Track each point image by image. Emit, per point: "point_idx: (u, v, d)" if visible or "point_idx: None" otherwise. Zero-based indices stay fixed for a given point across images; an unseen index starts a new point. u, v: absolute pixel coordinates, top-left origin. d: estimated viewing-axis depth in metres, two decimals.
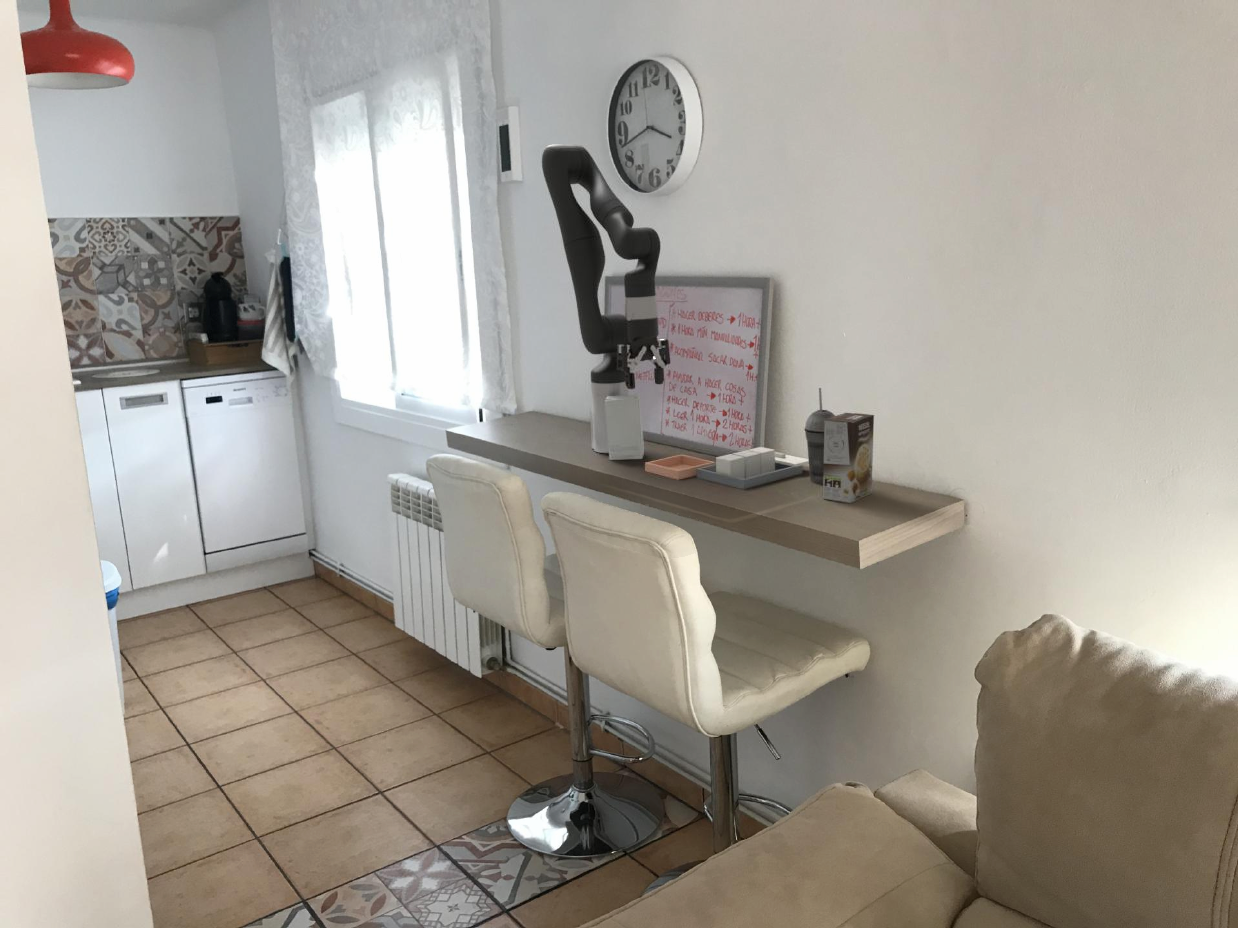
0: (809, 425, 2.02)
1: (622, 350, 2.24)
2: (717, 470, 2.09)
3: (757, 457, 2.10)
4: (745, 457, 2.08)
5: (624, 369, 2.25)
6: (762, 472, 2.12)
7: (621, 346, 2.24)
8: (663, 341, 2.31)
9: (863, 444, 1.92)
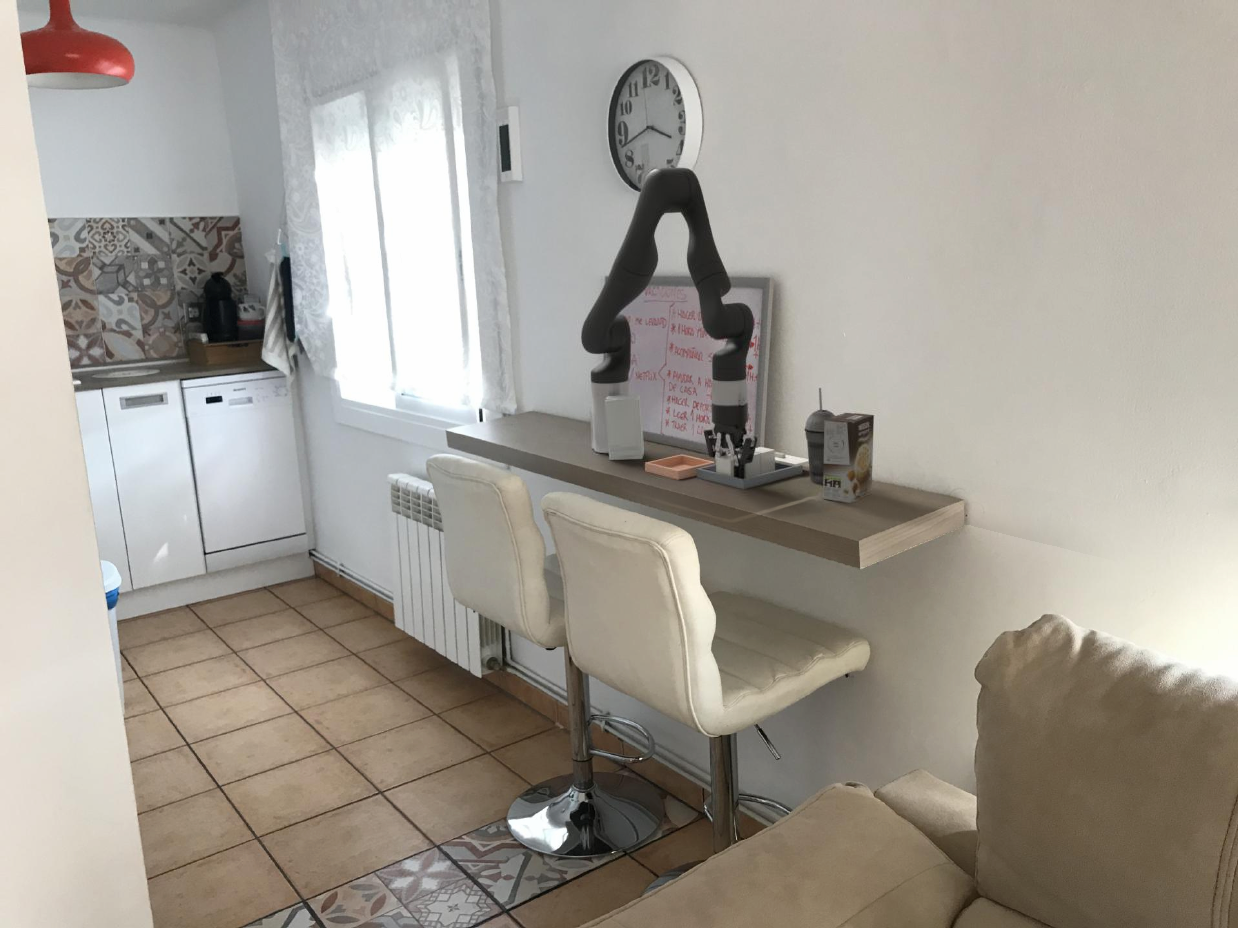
0: (809, 425, 2.02)
1: (755, 443, 2.03)
2: (717, 470, 2.09)
3: (757, 457, 2.10)
4: None
5: None
6: (762, 472, 2.12)
7: (754, 439, 2.02)
8: None
9: (863, 444, 1.92)
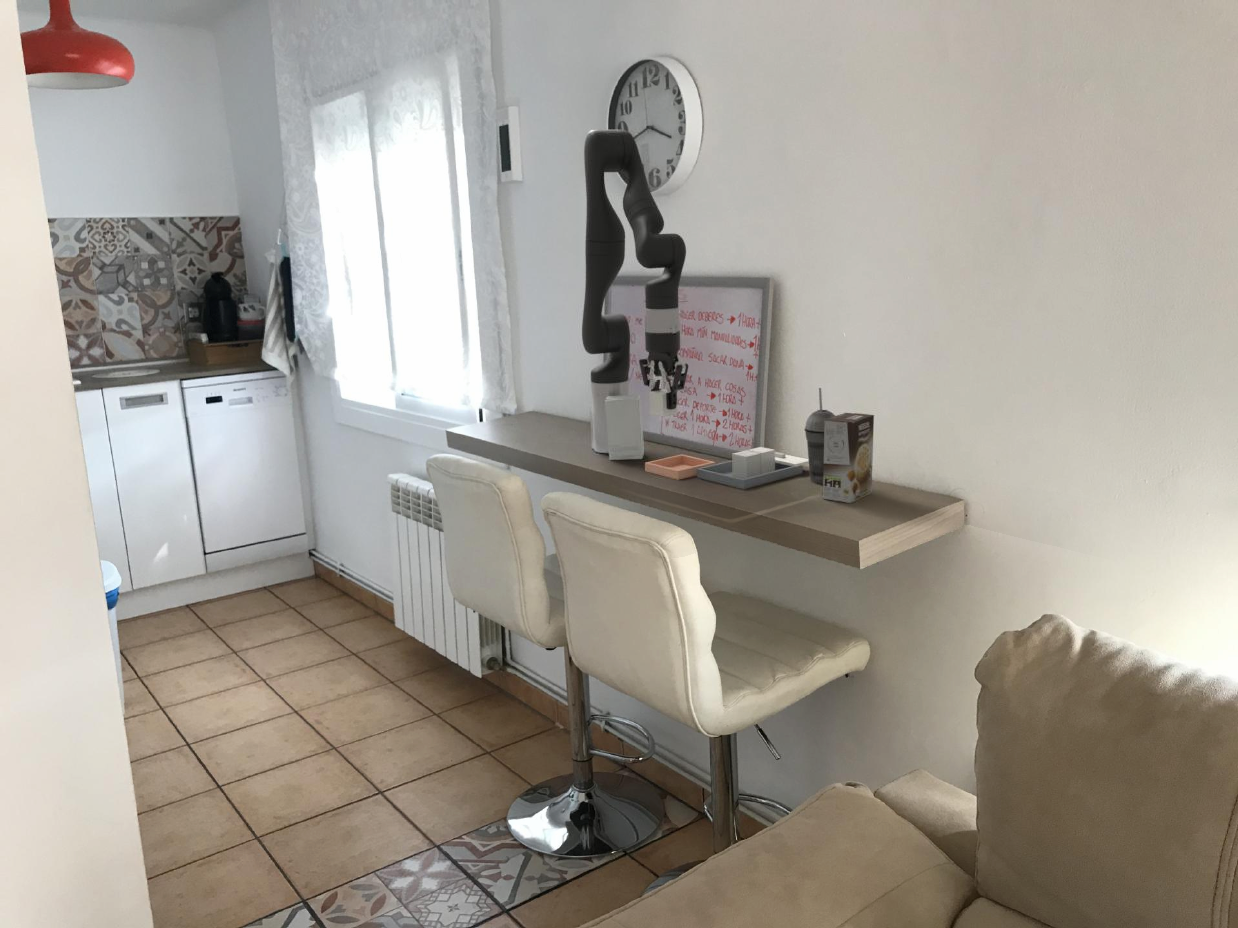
0: (809, 425, 2.02)
1: (686, 370, 2.10)
2: (651, 404, 2.16)
3: (757, 457, 2.10)
4: (745, 457, 2.08)
5: None
6: (762, 472, 2.12)
7: (685, 366, 2.09)
8: None
9: (863, 444, 1.92)
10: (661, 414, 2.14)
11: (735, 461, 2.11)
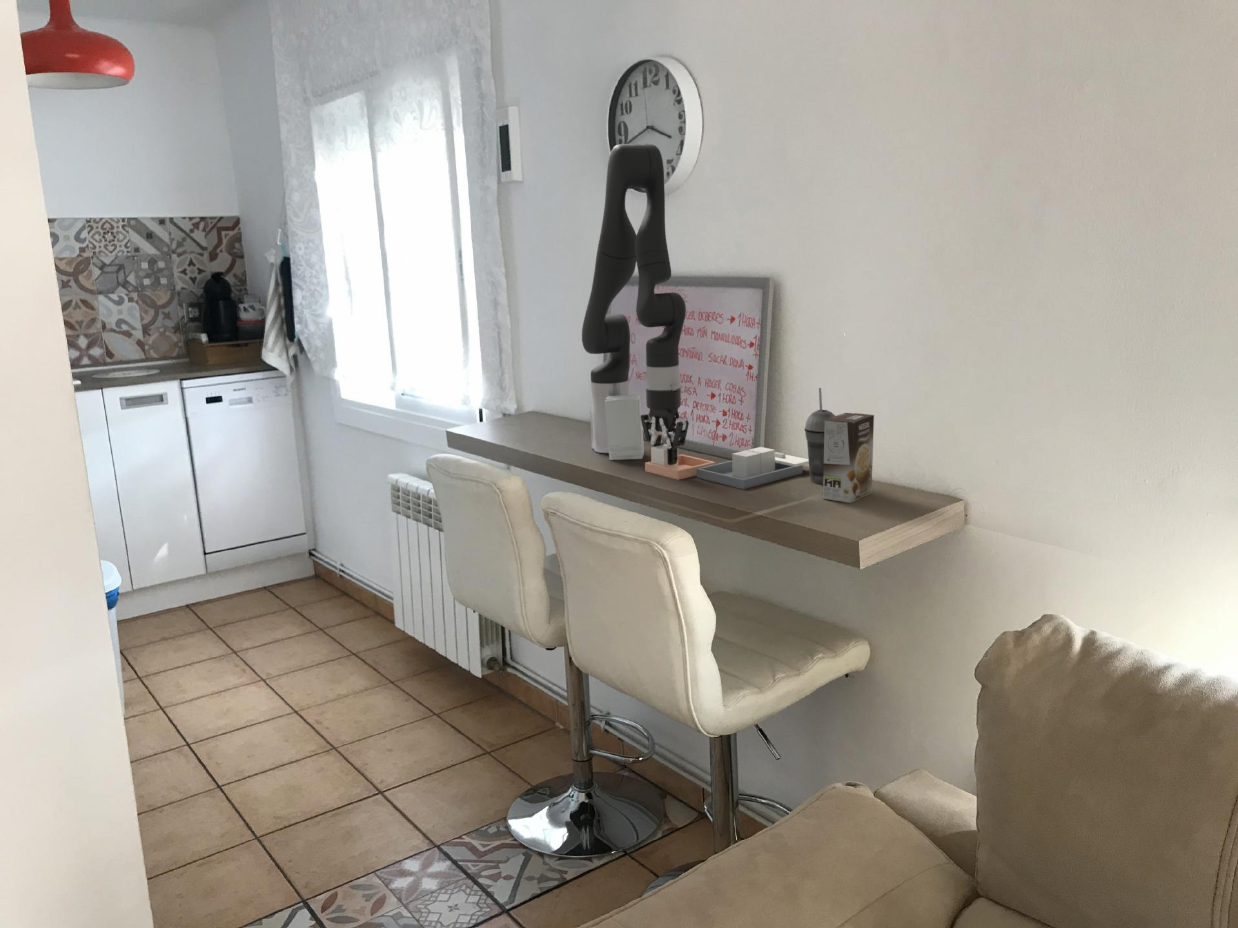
0: (809, 425, 2.02)
1: (686, 427, 2.12)
2: (652, 459, 2.19)
3: (757, 457, 2.10)
4: (745, 457, 2.08)
5: None
6: (762, 472, 2.12)
7: (686, 423, 2.12)
8: None
9: (863, 444, 1.92)
10: None
11: (735, 461, 2.11)
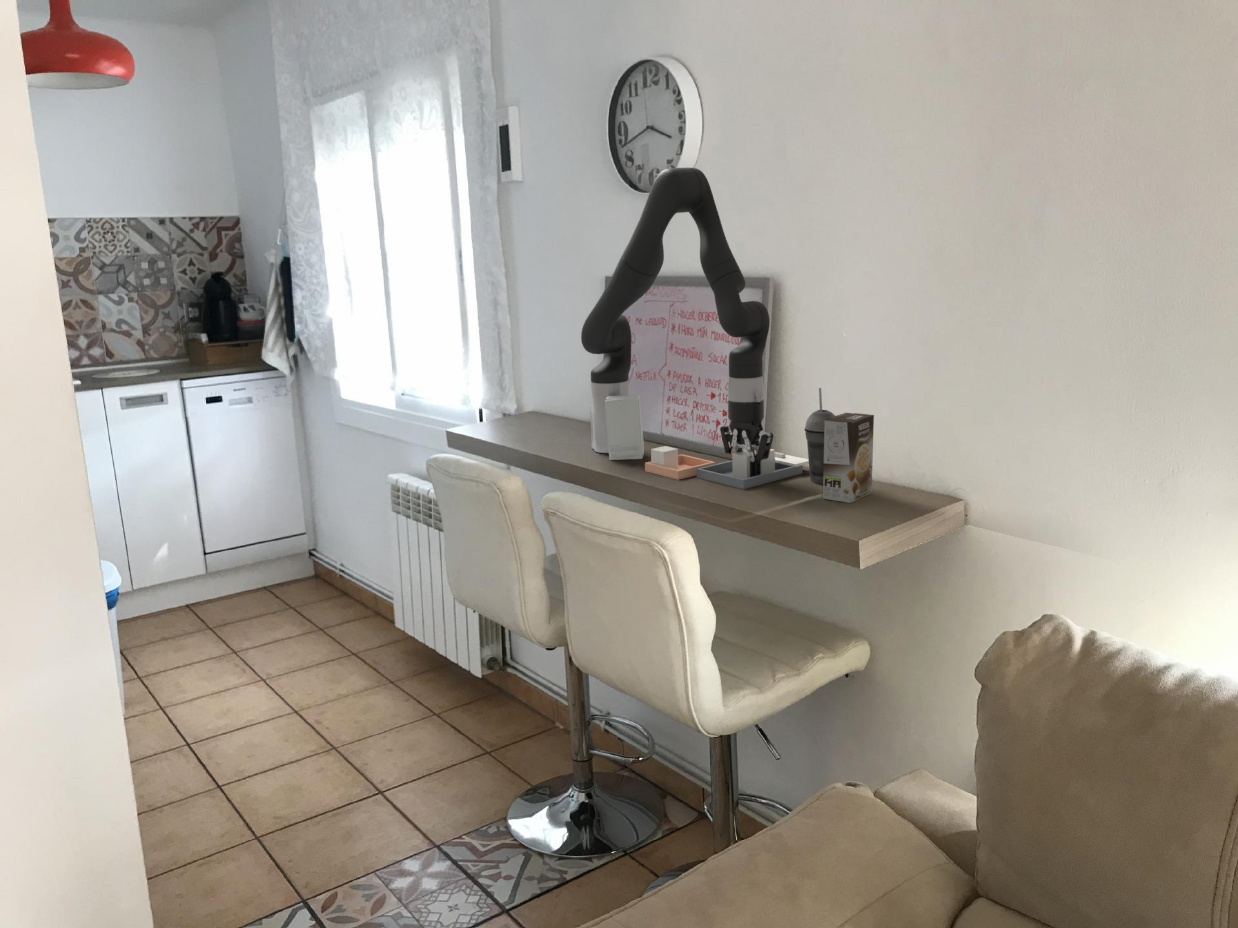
0: (809, 425, 2.02)
1: (771, 439, 2.06)
2: (652, 461, 2.19)
3: None
4: (745, 457, 2.08)
5: None
6: (762, 472, 2.12)
7: (771, 436, 2.05)
8: (730, 426, 2.15)
9: (863, 444, 1.92)
10: None
11: (735, 461, 2.11)
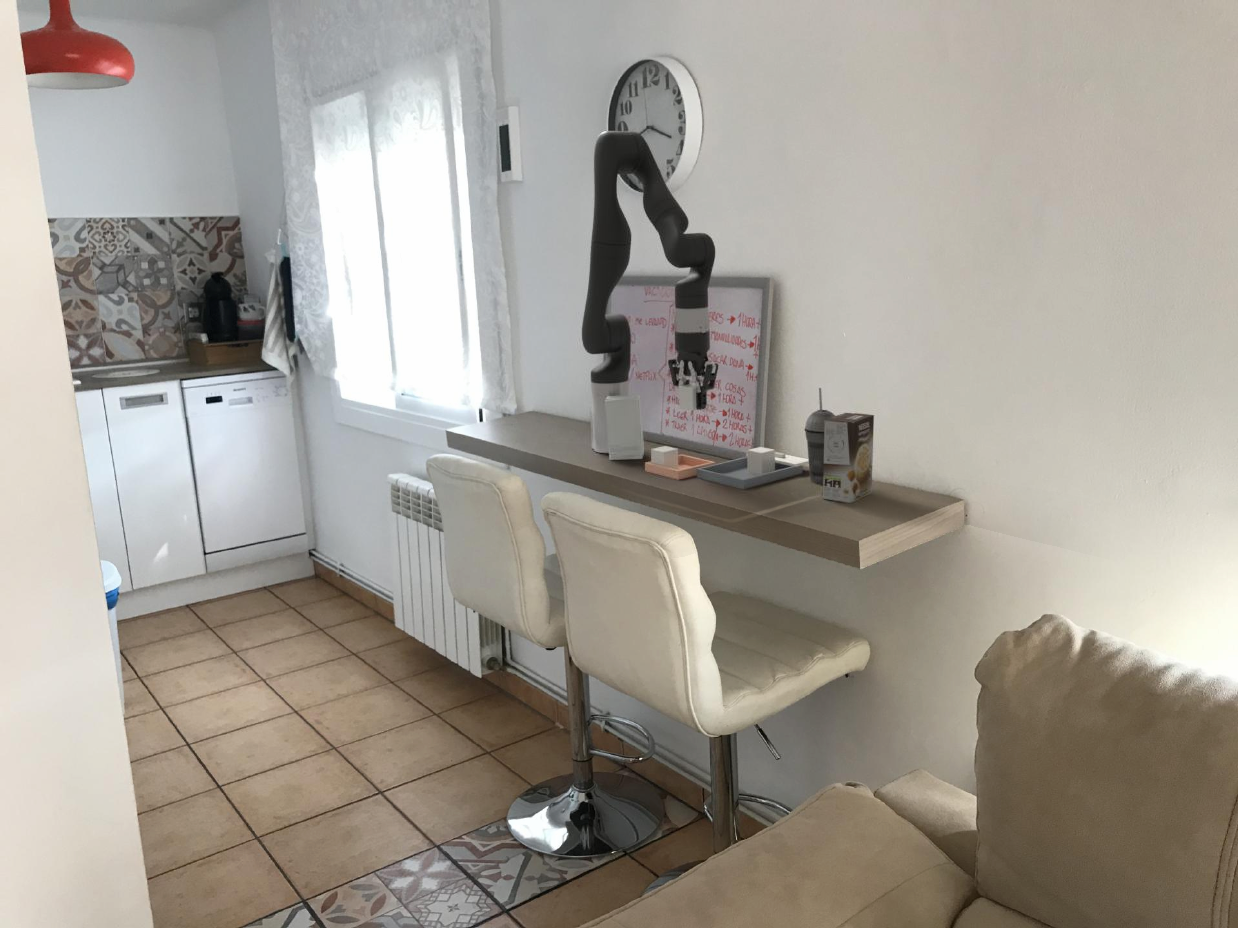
0: (809, 425, 2.02)
1: (716, 369, 2.09)
2: (652, 461, 2.19)
3: None
4: (691, 388, 2.12)
5: None
6: (762, 472, 2.12)
7: (716, 366, 2.08)
8: None
9: (863, 444, 1.92)
10: None
11: (682, 393, 2.14)
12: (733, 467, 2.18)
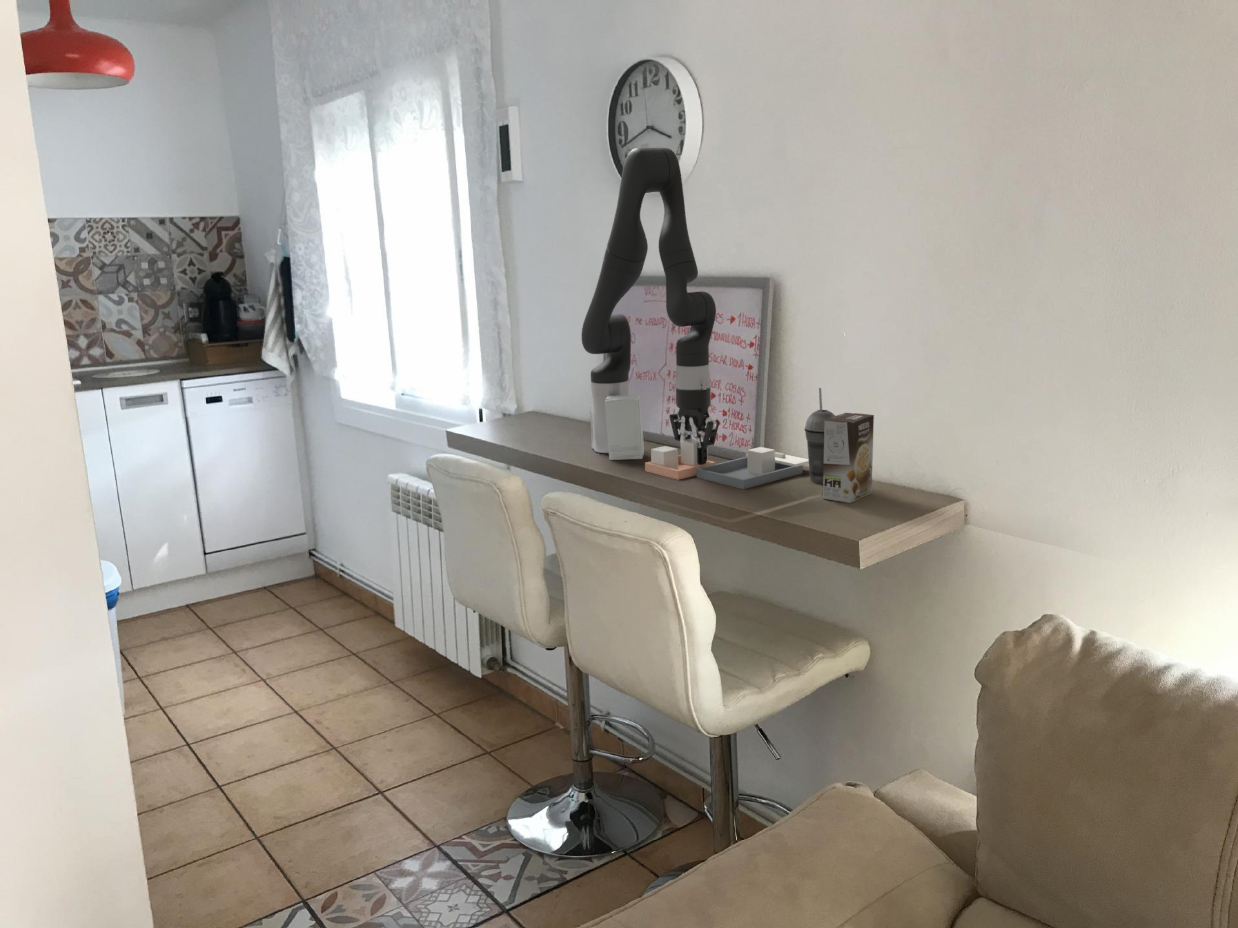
0: (809, 425, 2.02)
1: (717, 426, 2.12)
2: (652, 461, 2.19)
3: None
4: (692, 444, 2.14)
5: None
6: (762, 472, 2.12)
7: (716, 423, 2.11)
8: None
9: (863, 444, 1.92)
10: None
11: (683, 448, 2.17)
12: (733, 467, 2.18)
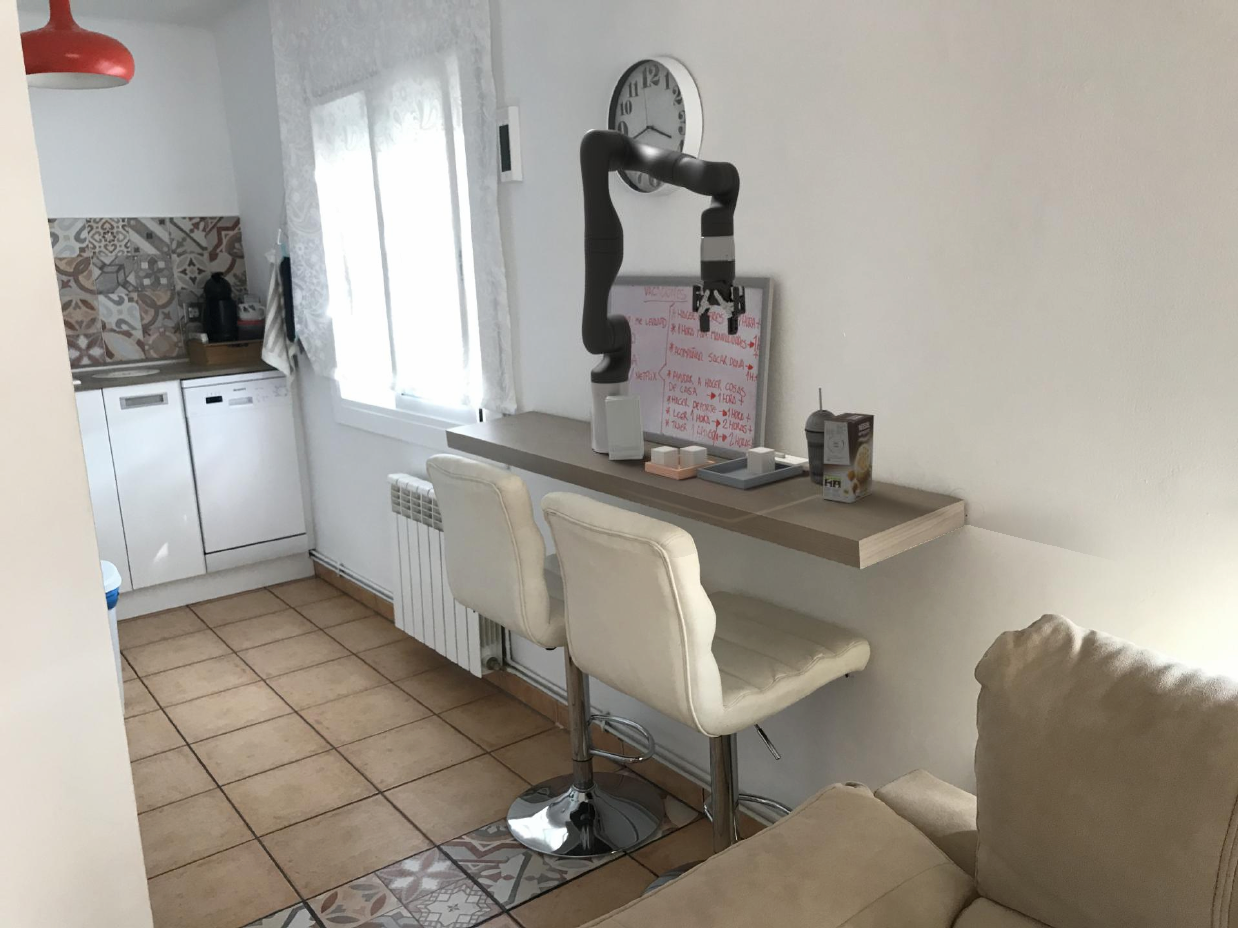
0: (809, 425, 2.02)
1: (743, 291, 2.10)
2: (652, 461, 2.19)
3: (704, 452, 2.17)
4: (692, 452, 2.15)
5: None
6: (762, 472, 2.12)
7: (742, 287, 2.10)
8: None
9: (863, 444, 1.92)
10: None
11: (682, 456, 2.18)
12: (733, 467, 2.18)
